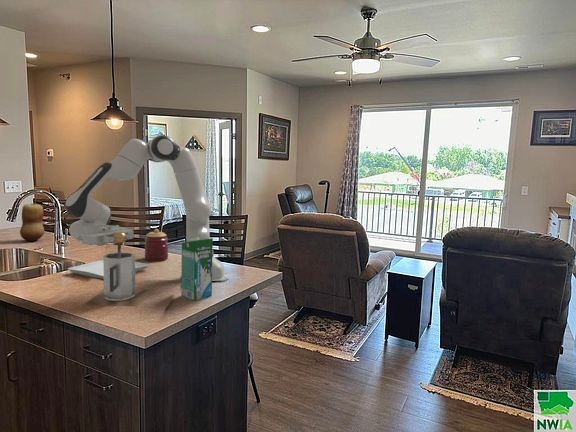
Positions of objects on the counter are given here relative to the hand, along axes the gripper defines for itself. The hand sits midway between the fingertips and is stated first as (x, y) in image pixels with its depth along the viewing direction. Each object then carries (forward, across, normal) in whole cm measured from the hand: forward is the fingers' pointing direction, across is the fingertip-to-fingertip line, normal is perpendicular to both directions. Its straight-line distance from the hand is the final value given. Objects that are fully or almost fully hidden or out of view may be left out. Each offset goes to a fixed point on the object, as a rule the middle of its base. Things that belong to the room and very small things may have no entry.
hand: (120, 238), depth 152 cm
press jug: (0, -1, +23) cm, 24 cm away
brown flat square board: (-1, 0, +25) cm, 25 cm away
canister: (-45, +56, +25) cm, 76 cm away
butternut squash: (-145, +38, +25) cm, 152 cm away
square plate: (-40, +23, +26) cm, 53 cm away
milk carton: (+19, +22, +25) cm, 39 cm away
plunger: (-1, 0, +22) cm, 22 cm away
